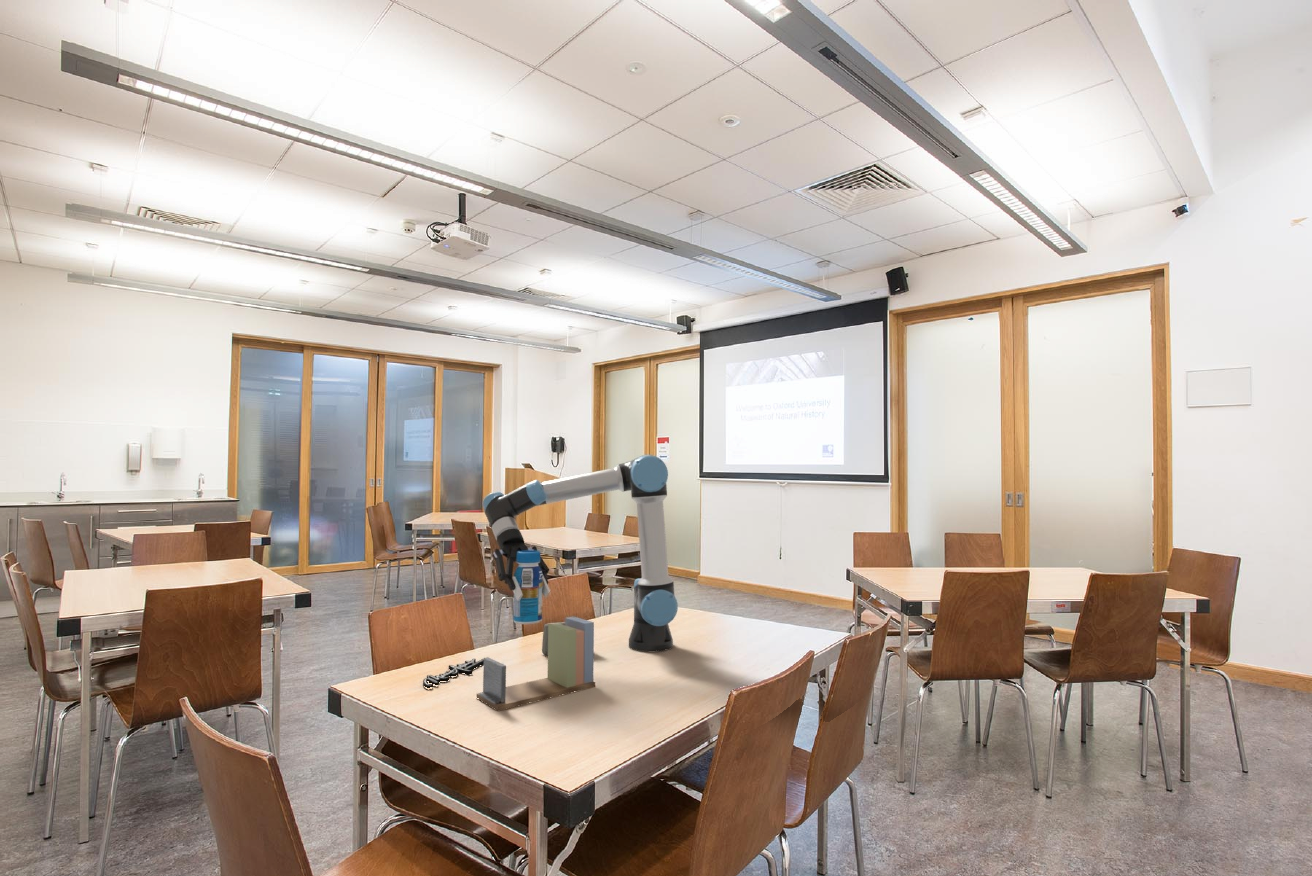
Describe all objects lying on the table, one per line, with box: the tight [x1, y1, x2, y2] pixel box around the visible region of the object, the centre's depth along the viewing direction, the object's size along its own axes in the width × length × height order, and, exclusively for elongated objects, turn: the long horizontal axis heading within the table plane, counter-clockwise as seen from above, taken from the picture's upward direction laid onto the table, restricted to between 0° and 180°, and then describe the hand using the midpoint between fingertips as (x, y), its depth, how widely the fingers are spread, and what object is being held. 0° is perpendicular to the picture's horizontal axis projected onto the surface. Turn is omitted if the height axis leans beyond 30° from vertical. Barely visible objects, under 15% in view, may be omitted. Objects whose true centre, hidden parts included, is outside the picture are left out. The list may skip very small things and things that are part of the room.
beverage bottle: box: [512, 550, 543, 625], centre depth 185 cm, size 8×8×20 cm
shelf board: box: [476, 677, 596, 711], centre depth 171 cm, size 29×12×1 cm, turn 130°
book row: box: [547, 616, 595, 688], centre depth 178 cm, size 8×10×16 cm
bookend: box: [478, 656, 507, 704], centre depth 163 cm, size 2×10×9 cm, turn 40°
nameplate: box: [422, 658, 484, 688], centre depth 186 cm, size 28×2×10 cm
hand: (534, 596), depth 182 cm, fingers closed on beverage bottle, 8 cm apart
